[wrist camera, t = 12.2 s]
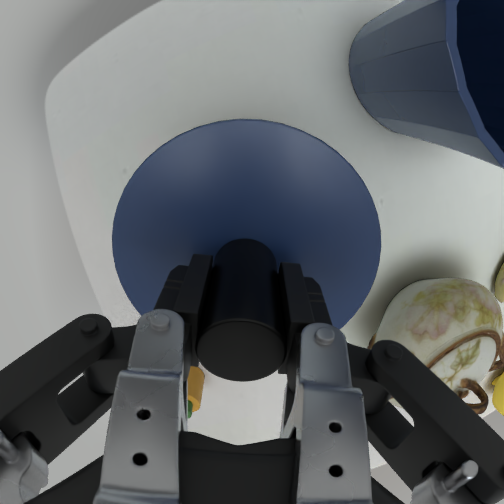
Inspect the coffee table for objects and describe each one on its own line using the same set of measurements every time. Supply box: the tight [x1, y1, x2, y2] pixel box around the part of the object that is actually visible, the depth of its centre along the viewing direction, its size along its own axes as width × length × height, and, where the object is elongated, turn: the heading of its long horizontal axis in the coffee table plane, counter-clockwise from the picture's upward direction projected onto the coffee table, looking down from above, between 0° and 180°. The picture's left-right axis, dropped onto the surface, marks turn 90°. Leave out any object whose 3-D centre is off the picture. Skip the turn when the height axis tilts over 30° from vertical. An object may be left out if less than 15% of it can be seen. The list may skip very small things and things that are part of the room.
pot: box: [349, 0, 504, 169], centre depth 13 cm, size 11×11×14 cm
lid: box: [112, 119, 381, 381], centre depth 11 cm, size 12×12×6 cm
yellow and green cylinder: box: [187, 366, 204, 418], centre depth 32 cm, size 4×4×6 cm
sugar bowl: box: [367, 278, 504, 414], centre depth 23 cm, size 20×15×15 cm
